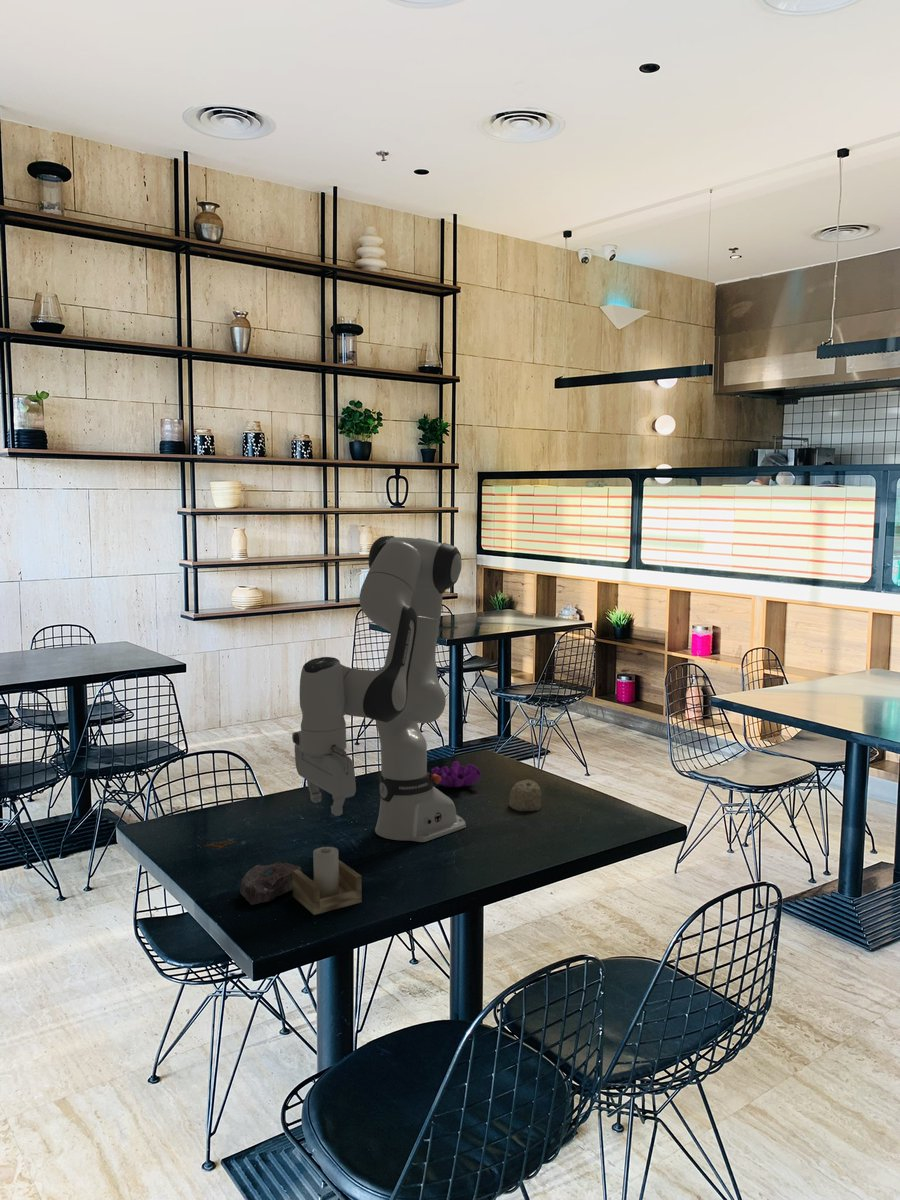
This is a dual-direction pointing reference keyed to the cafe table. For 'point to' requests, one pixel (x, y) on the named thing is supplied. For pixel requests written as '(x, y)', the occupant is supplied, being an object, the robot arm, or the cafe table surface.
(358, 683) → the robot arm
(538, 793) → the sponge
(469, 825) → the cafe table surface
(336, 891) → the roll
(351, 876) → the holder
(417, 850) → the cafe table surface
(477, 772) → the purple coral
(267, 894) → the rock
